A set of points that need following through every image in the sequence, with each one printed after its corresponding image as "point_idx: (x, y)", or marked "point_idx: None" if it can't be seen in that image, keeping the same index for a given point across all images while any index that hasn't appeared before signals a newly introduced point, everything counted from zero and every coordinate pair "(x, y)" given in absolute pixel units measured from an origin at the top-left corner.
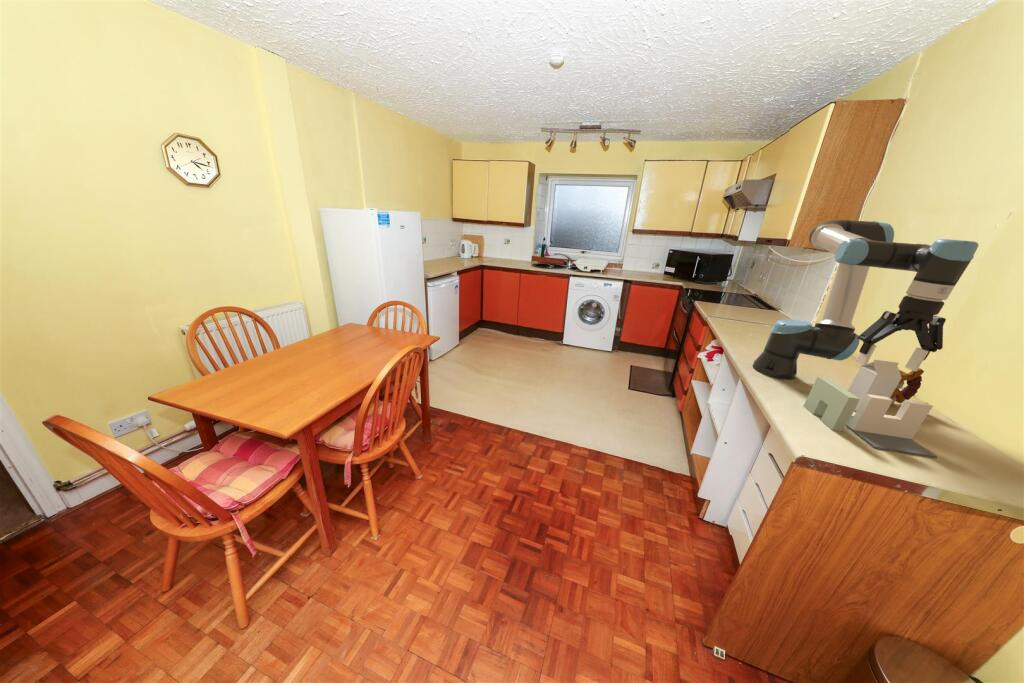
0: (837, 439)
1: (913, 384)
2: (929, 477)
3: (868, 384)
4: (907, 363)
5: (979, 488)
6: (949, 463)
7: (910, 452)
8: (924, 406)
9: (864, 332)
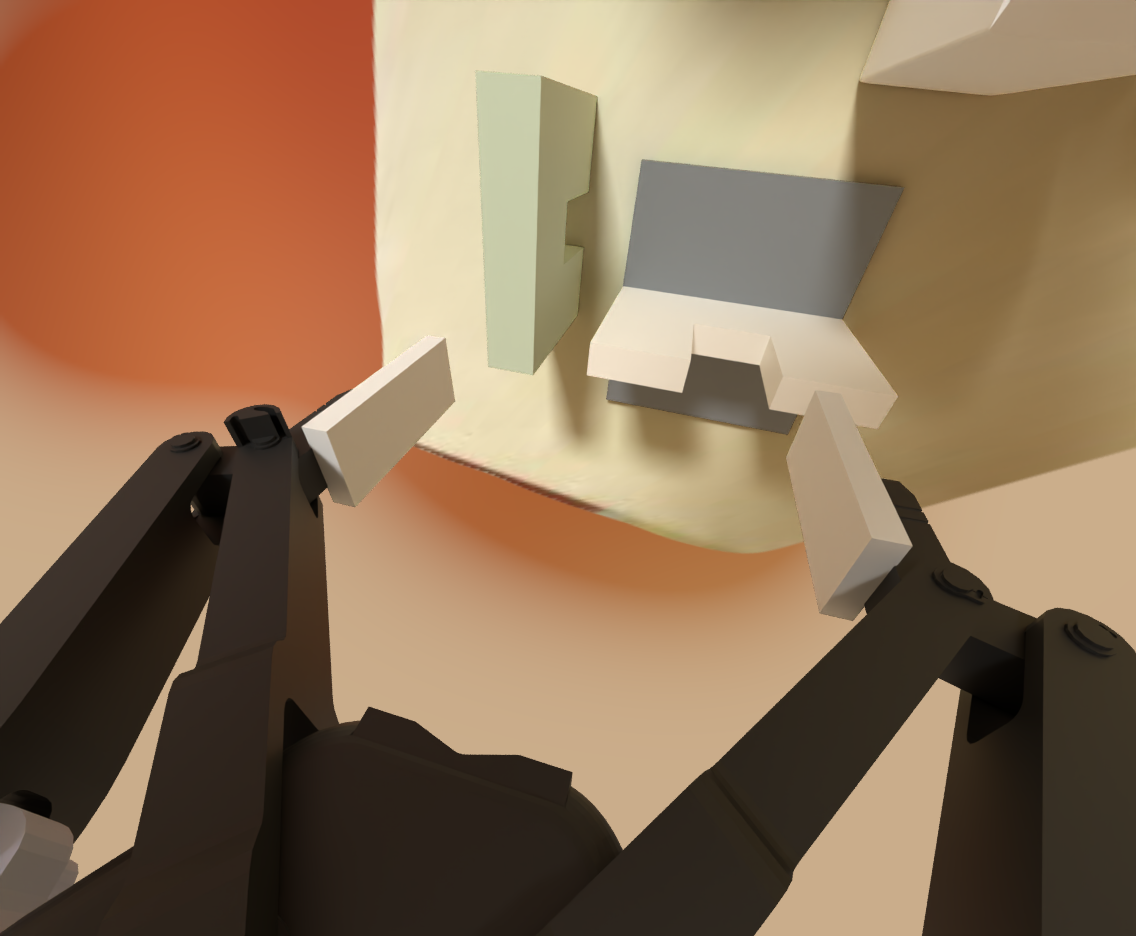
0: None
1: None
2: (643, 491)
3: (947, 15)
4: (820, 414)
5: (737, 520)
6: None
7: (707, 418)
8: None
9: (131, 500)
